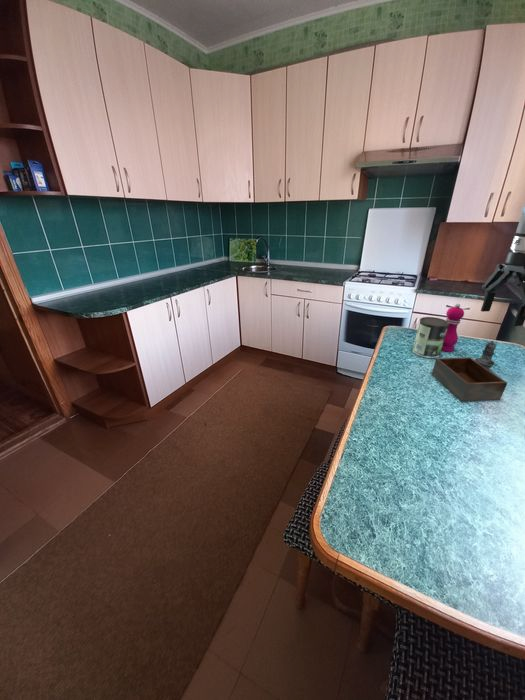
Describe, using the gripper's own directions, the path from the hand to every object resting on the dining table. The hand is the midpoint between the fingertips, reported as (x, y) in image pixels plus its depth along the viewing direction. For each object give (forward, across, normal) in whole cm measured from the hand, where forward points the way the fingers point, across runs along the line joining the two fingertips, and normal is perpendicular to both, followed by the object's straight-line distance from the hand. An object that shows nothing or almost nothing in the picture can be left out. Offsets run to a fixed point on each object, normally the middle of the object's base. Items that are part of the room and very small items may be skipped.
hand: (500, 317), depth 97 cm
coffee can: (+22, -17, -10) cm, 30 cm away
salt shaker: (+22, -2, +2) cm, 22 cm away
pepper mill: (+22, -20, 0) cm, 30 cm away
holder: (+22, +8, -12) cm, 26 cm away
